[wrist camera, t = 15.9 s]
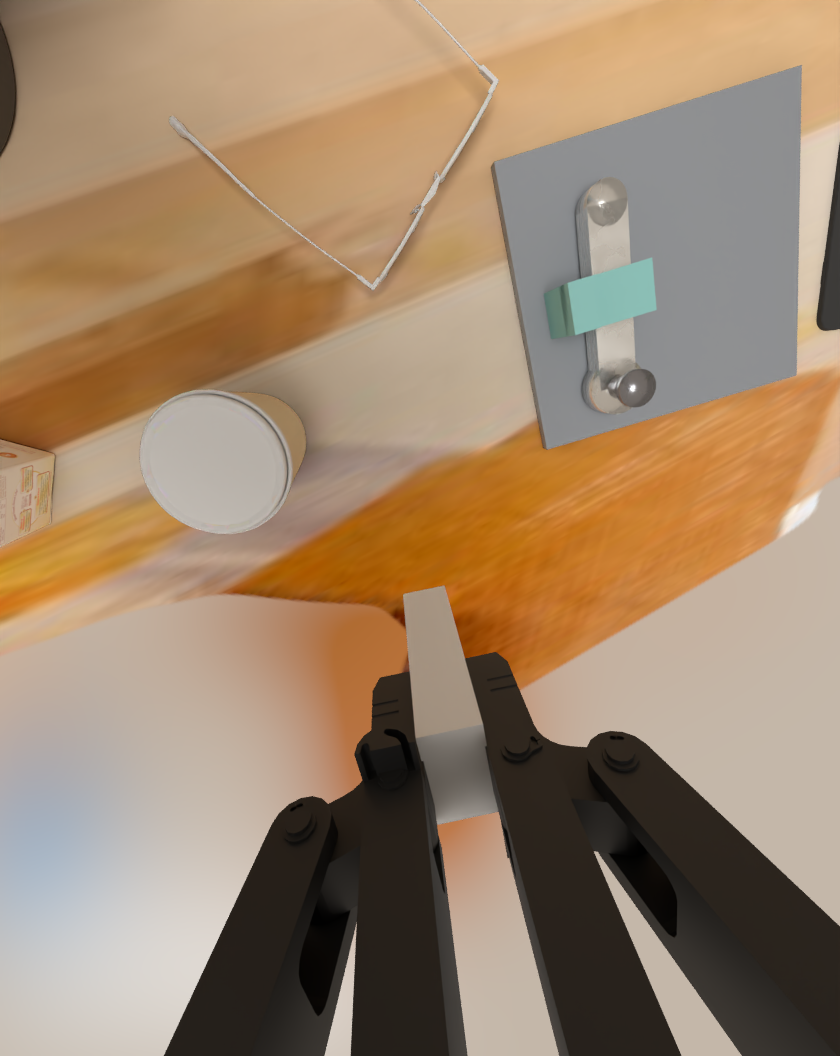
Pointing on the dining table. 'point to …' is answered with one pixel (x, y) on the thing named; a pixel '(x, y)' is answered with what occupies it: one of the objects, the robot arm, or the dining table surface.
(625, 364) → the link
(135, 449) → the dining table surface
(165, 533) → the dining table surface
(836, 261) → the phone
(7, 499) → the coffeecake box
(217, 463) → the coffee cup
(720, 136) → the board
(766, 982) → the robot arm
